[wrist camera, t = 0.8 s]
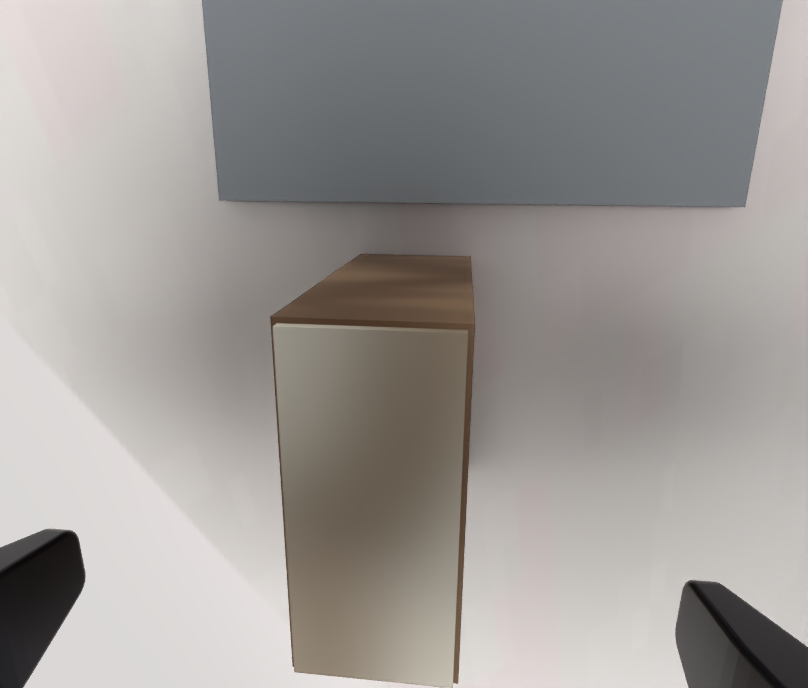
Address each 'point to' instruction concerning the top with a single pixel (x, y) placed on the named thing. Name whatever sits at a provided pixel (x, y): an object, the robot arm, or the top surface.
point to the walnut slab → (376, 466)
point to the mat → (488, 100)
